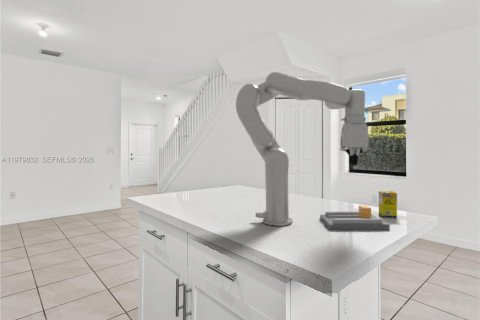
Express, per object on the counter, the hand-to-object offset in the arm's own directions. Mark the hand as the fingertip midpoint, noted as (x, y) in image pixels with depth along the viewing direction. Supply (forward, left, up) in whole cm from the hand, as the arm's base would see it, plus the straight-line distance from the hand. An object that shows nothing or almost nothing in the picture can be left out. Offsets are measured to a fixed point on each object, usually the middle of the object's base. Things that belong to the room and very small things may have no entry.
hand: (353, 165), depth 113 cm
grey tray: (-2, -3, -22) cm, 22 cm away
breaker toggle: (+3, -3, -22) cm, 22 cm away
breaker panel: (-2, -3, -24) cm, 24 cm away
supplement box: (+18, +10, -24) cm, 32 cm away
